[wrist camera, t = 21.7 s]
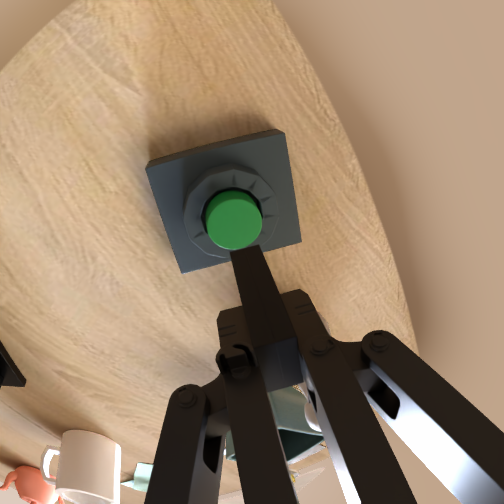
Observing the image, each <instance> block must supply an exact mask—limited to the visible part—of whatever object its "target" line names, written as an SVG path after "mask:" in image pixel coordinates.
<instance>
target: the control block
mask: <svg viewBox="0 0 504 504" xmlns="http://www.w3.org/2000/svg"><path fill="white" fill-rule="evenodd" d="M145 170H146V173H147V176H148V179H149V182H150V185H151V188H152V191H153V194H154V197H155V200H156V203H157V206H158V209H159V212H160V215H161V218H162V221H163V224H164V227H165V230H166V232H167V235H168V238H169V241H170V244H171V246H172V249H173V252H174V255H175V257H176V260H177V263H178V265H179V268H180V271H181V273H182V274H184V273H188V272H191V271H195V270H199V269H203V268H207V267H210V266H214V265H218V264H222V263H225V262H229V261H232V260H231V256H230V252H232V251H236V250H239V249H226V248H223V247H220V246H218V245H217V244H216V243H214V242H213V241H212V239H211V238H210V236H209V234H208V231H207V226H206V209H207V206H208V205H209V203H210V201H211V200H212V199H213V198H214V197H215V196H217V195H218V194H220V193H222V192H225V191H232V190H234V191H240V192H243V193H245V194H247V195H249V196H250V197H251V198H252V199H253V201H254V202H255V204H256V206H257V208H258V210H259V212H260V214H261V217H262V228H261V231H260V233H259V235H258V237H257V238H256V239H255V240H254V241H253V242H252V243H251V244H249V245H248V246H246V247H244V248H247V247H251V246H254V245H258V244H259V245H260V248H261V250H262V253H263V252H267V251H270V250H274V249H278V248H282V247H285V246H289V245H293V244H297V243H300V242H302V240H301V233H300V226H299V219H298V212H297V205H296V199H295V192H294V186H293V179H292V173H291V167H290V161H289V155H288V149H287V143H286V137H285V133H284V132H282V131H280V130H278V129H273V130H268V131H264V132H259V133H254V134H250V135H245V136H241V137H237V138H233V139H228V140H224V141H220V142H216V143H212V144H208V145H205V146H201V147H197V148H193V149H190V150H186V151H182V152H179V153H175V154H172V155H169V156H165V157H162V158H159V159H155V160H152V161H149V163H148V164H147V166H146V168H145ZM240 249H243V248H240Z"/></svg>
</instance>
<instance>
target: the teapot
mask: <svg viewBox="0 0 504 504" xmlns="http://www.w3.org/2000/svg"><path fill="white" fill-rule="evenodd" d="M49 476H50V478H54V479H56V478H55V477H53V476H52V475H50V474H49ZM12 481H15V486H16V489H17V491H18V494H19V496H20V498H21V499H23V500H25V501H27V502H29V503H30V504H54V503H55V501H56V500H57V499H58V500H59V504H64V502H63V499H62V497H60V496H59V495H57V494H56V492H55V485H50V484H48V483H46V482H45V481H44V480H43V477H42V474H41V470H39V469H36V468H33V467H30V466H20V467H18V468H17V469H15V471H12V472H10V473H9V474H8V475H7V476H6V479H5V482H4V484H3V485H2V486H1V487H0V490H4V491H5V490H7V489H8V487H9V485H10V483H11V482H12Z"/></svg>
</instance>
